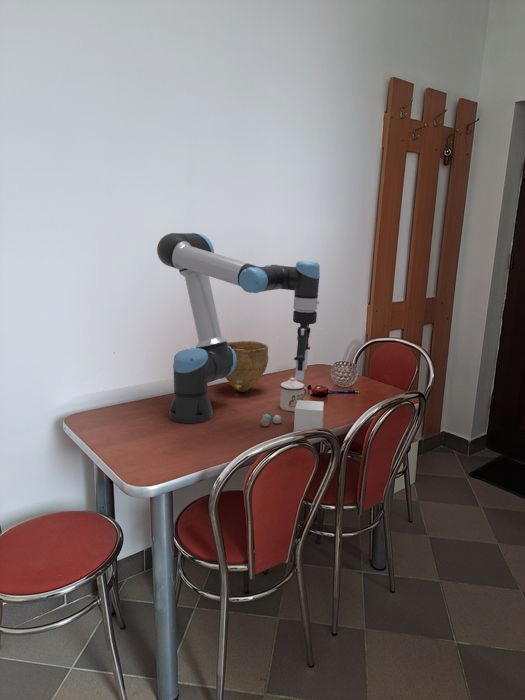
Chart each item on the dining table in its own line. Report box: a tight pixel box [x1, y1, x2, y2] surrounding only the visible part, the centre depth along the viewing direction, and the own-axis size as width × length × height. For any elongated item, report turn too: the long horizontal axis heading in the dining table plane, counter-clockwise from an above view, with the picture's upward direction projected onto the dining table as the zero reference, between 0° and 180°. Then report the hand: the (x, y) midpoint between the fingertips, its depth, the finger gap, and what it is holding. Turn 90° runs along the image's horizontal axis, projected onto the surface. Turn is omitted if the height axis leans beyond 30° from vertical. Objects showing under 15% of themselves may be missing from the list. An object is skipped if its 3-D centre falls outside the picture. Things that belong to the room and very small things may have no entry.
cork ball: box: [260, 417, 271, 427], centre depth 171 cm, size 3×3×3 cm
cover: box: [293, 399, 325, 431], centre depth 169 cm, size 9×9×8 cm
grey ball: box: [272, 414, 282, 424], centre depth 174 cm, size 3×3×3 cm
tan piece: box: [225, 340, 269, 393], centre depth 206 cm, size 21×20×20 cm
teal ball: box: [262, 413, 272, 422], centre depth 175 cm, size 3×3×3 cm
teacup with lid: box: [279, 377, 308, 412], centre depth 190 cm, size 12×9×12 cm
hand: (301, 374), depth 167 cm, fingers open, 13 cm apart
